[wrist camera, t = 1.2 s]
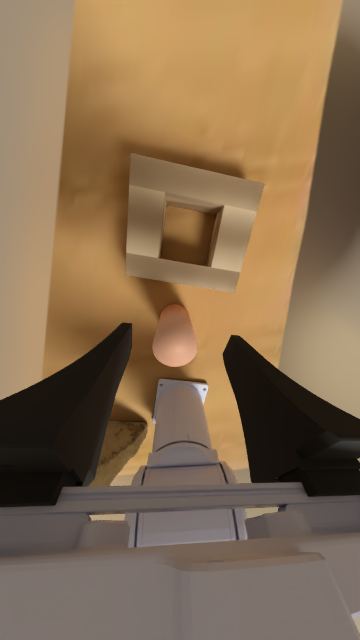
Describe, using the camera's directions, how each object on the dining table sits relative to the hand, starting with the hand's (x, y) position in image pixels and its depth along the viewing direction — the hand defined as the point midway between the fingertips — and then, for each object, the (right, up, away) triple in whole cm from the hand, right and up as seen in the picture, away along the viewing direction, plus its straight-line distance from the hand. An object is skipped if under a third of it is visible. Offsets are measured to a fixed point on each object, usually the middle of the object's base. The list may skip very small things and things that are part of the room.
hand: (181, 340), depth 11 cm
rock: (-11, -18, +17) cm, 27 cm away
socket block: (+1, +11, +7) cm, 13 cm away
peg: (-1, +2, +10) cm, 10 cm away
